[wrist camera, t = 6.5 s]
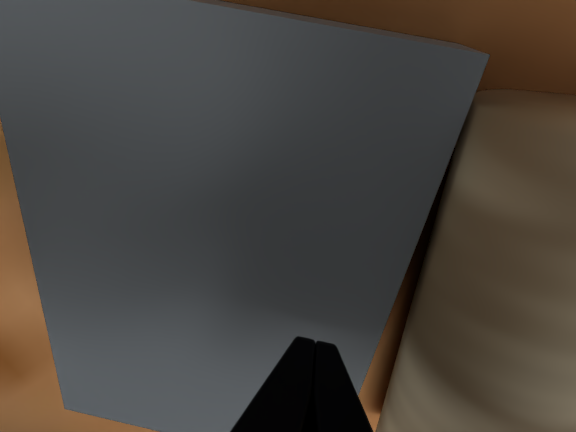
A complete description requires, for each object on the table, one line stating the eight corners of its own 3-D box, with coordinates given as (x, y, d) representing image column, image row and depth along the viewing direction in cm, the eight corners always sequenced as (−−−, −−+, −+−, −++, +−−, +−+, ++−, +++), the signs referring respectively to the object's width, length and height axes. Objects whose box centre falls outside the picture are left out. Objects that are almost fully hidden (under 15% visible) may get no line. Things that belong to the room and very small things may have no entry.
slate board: (100, 358, 14) (64, 408, 12) (49, -31, 8) (-35, -41, 6) (667, 488, 13) (716, 564, 11) (1086, 156, 7) (1329, 206, 5)
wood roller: (385, 398, 14) (352, 513, 11) (474, 81, 9) (462, 120, 5) (507, 451, 12) (511, 602, 9) (705, 110, 7) (875, 186, 4)
